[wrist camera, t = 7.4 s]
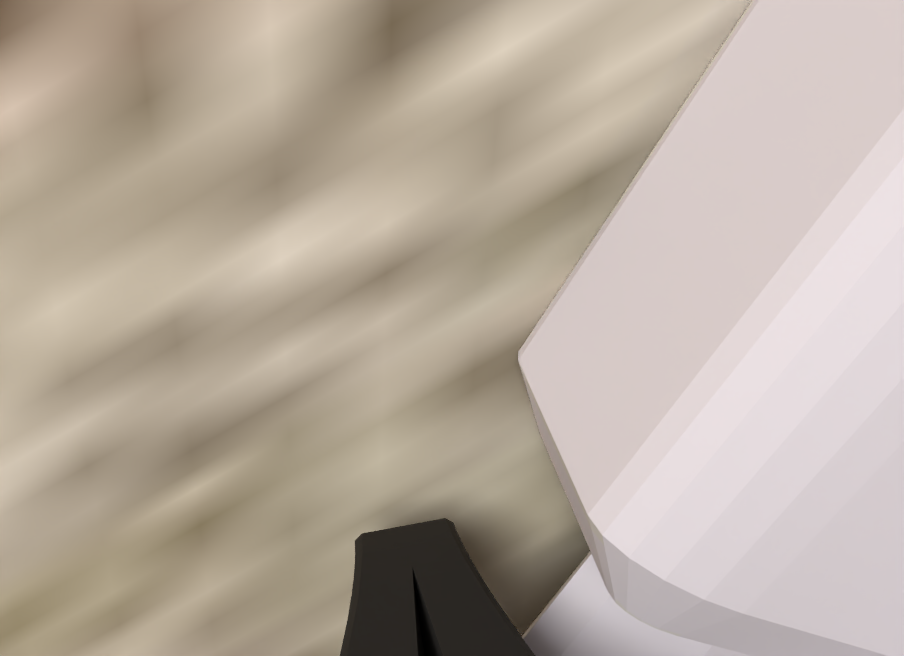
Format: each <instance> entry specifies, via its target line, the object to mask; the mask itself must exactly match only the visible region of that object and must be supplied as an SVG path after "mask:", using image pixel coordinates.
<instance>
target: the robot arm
mask: <svg viewBox="0 0 904 656" xmlns="http://www.w3.org/2000/svg"><path fill="white" fill-rule="evenodd" d="M340 656H536V655H535V654H534V653H533V651H532V650H531V649H530V647H529V646H528V645H527V643H526V642H525V641H524V639H523V638H522V637H521V635H520V634H519V632H518V631H517V630H516V628H515V627H514V625H513V624H512V623H511V621H510V620H509V618H508V617H507V615H506V614H505V613H504V611H503V610H502V608H501V607H500V606H499V604H498V603H497V601H496V599H495V598H494V596H493V595H492V593H491V592H490V590H489V589H488V587H487V585H486V584H485V582H484V581H483V579H482V577H481V576H480V574H479V572H478V571H477V569H476V567H475V566H474V564H473V562H472V560H471V559H470V557H469V555H468V553H467V551H466V549H465V547H464V545H463V543H462V541H461V539H460V537H459V535H458V533H457V531H456V528H455V526H454V523H453V522H451V521H449V520H448V519H446V518H444V519H438V520H433V521H427V522H422V523H417V524H411V525H406V526H400V527H395V528H390V529H384V530H379V531H374V532H368V533H363V534H361V535H360V536H359V537H358V538H357V539H356V540H355V571H354V581H353V589H352V596H351V603H350V609H349V615H348V621H347V625H346V630H345V635H344V639H343V644H342V649H341V653H340Z"/></svg>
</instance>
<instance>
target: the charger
mask: <svg viewBox="0 0 904 656" xmlns="http://www.w3.org/2000/svg"><path fill="white" fill-rule="evenodd" d="M518 361H519V365H520V368H521V371H522V375H523V378H524V382H525V385H526V388H527V392H528V395H529V399H530V402H531V405H532V409H533V412H534V416H535V419H536V423H537V426H538V429H539V433H540V435H541V438H542V440H543V442H544V445H545V447H546V449H547V452H548V454H549V456H550V459H551V461H552V463H553V466H554V468H555V470H556V473H557V475H558V477H559V479H560V482H561V484H562V486H563V489H564V491H565V493H566V496H567V498H568V500H569V503H570V505H571V507H572V510H573V512H574V514H575V517H576V519H577V521H578V524H579V526H580V528H581V531H582V533H583V535H584V538H585V540H586V542H587V544H588V547H589V549H590V552H589V553H588V554H587V556H586V557H585V558H584V559H583V561H582V562H581V563H580V564H579V566H578V567H577V568H576V569H575V571H574V572H573V573H572V574H571V576H570V577H569V578H568V579H567V581H566V582H565V583H564V584H563V586H562V587H561V588H560V589H559V591H558V592H557V593H556V594H555V596H554V597H553V598H552V599H551V601H550V602H549V603H548V604H547V606H546V607H545V608H544V609H543V611H542V612H541V613H540V614H539V616H538V617H537V618H536V619H535V621H534V622H533V623H532V625H531V626H530V627H529V628H528V630H527V631H526V632H525V633H524V635H523V636H522V638H523V639H524V641H525V642H526V643H527V645H528V646H529V647H530V649H531V650H532V651H533V653H534V654H535V655H536V656H904V0H752V2H751V3H750V5H749V6H748V8H747V9H746V11H745V12H744V14H743V15H742V17H741V18H740V20H739V21H738V23H737V24H736V26H735V27H734V29H733V30H732V32H731V33H730V35H729V36H728V38H727V39H726V41H725V42H724V44H723V45H722V47H721V48H720V50H719V51H718V53H717V54H716V56H715V57H714V59H713V60H712V62H711V63H710V65H709V66H708V68H707V69H706V71H705V72H704V74H703V75H702V77H701V78H700V80H699V81H698V83H697V84H696V86H695V87H694V89H693V90H692V92H691V93H690V95H689V96H688V98H687V99H686V101H685V102H684V104H683V105H682V107H681V108H680V110H679V111H678V113H677V114H676V116H675V117H674V119H673V120H672V122H671V123H670V125H669V126H668V128H667V129H666V131H665V132H664V134H663V135H662V137H661V138H660V140H659V141H658V143H657V144H656V146H655V147H654V149H653V150H652V152H651V153H650V155H649V156H648V158H647V159H646V161H645V162H644V164H643V165H642V167H641V168H640V170H639V171H638V173H637V174H636V176H635V177H634V179H633V180H632V182H631V183H630V185H629V186H628V188H627V189H626V191H625V192H624V194H623V195H622V197H621V198H620V200H619V201H618V203H617V204H616V206H615V207H614V209H613V211H612V212H611V214H610V215H609V217H608V218H607V220H606V221H605V223H604V224H603V226H602V227H601V229H600V230H599V232H598V233H597V235H596V236H595V238H594V239H593V241H592V242H591V244H590V245H589V247H588V248H587V250H586V251H585V253H584V254H583V256H582V257H581V259H580V260H579V262H578V263H577V265H576V266H575V268H574V269H573V271H572V272H571V274H570V275H569V277H568V278H567V280H566V281H565V283H564V284H563V286H562V287H561V289H560V290H559V292H558V293H557V295H556V296H555V298H554V299H553V301H552V302H551V304H550V305H549V307H548V308H547V310H546V311H545V313H544V314H543V316H542V317H541V319H540V320H539V322H538V323H537V325H536V326H535V328H534V329H533V331H532V332H531V334H530V335H529V337H528V338H527V340H526V341H525V343H524V344H523V346H522V347H521V349H520V350H519V353H518Z"/></svg>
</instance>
